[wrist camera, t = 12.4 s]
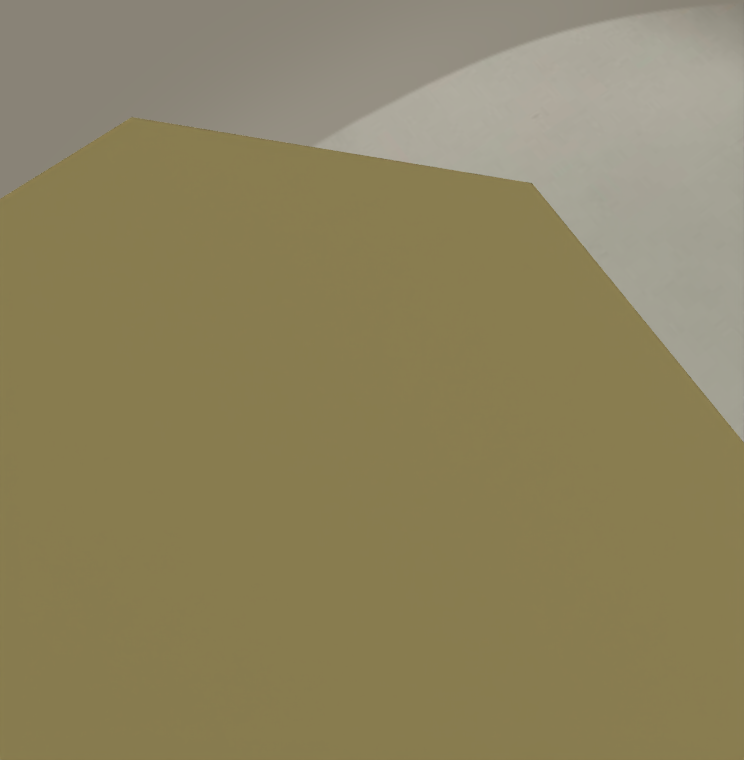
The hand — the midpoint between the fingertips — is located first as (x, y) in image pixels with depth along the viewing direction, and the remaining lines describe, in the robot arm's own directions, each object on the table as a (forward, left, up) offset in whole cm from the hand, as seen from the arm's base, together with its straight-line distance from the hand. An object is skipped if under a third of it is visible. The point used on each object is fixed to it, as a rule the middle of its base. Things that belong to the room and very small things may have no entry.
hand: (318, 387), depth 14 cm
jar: (0, -3, -6) cm, 7 cm away
